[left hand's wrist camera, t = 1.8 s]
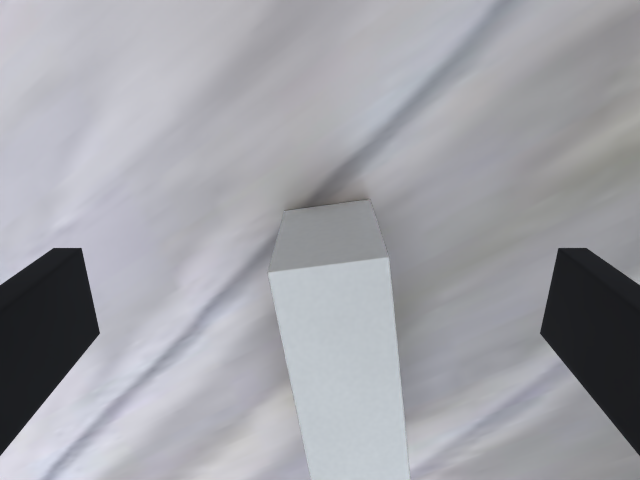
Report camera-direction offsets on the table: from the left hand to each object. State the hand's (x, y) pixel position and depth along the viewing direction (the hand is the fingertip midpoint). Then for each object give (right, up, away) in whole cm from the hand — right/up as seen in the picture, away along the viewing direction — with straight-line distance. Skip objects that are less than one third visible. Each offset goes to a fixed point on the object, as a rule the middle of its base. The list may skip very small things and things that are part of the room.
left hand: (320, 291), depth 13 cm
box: (+2, -6, +24) cm, 25 cm away
